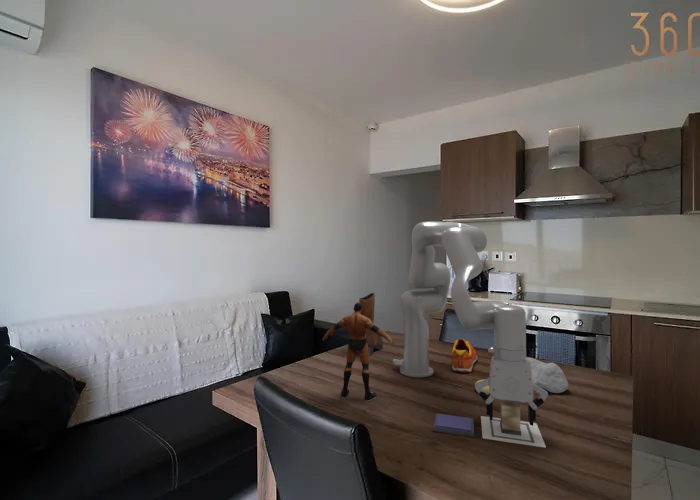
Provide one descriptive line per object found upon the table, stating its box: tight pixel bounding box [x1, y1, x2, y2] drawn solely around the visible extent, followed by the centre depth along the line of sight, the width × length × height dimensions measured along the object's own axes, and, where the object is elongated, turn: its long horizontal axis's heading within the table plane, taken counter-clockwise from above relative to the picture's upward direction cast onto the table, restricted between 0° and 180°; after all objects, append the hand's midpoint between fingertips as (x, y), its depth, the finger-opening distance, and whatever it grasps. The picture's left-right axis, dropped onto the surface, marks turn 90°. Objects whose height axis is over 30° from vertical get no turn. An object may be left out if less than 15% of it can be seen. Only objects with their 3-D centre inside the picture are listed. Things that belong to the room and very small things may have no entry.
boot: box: [357, 292, 384, 357], centre depth 167 cm, size 25×9×27 cm, turn 152°
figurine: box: [322, 302, 396, 402], centre depth 113 cm, size 24×6×30 cm, turn 71°
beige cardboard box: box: [500, 400, 521, 436], centre depth 91 cm, size 4×4×7 cm
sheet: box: [480, 415, 547, 449], centre depth 91 cm, size 14×12×1 cm
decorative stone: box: [526, 356, 569, 394], centre depth 121 cm, size 17×10×10 cm
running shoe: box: [451, 338, 478, 374], centre depth 146 cm, size 10×28×11 cm, turn 163°
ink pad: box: [432, 413, 475, 438], centre depth 93 cm, size 10×8×1 cm
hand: (510, 420), depth 91 cm, fingers open, 9 cm apart
